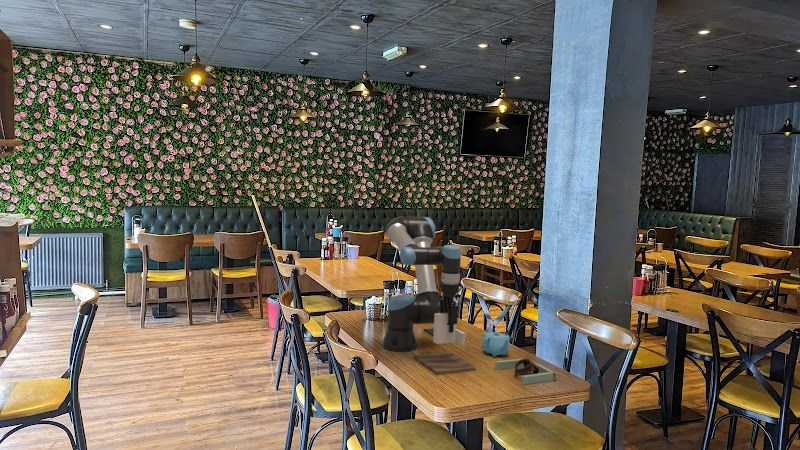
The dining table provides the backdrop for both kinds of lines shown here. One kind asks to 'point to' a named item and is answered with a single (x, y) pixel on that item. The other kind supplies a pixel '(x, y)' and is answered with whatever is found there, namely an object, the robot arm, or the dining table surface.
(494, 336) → the blue piggy bank
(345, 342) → the dining table surface
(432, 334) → the notebook
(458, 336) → the grey l-shaped bookend
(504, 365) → the corral
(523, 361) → the brown twisted sculpture
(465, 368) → the board
